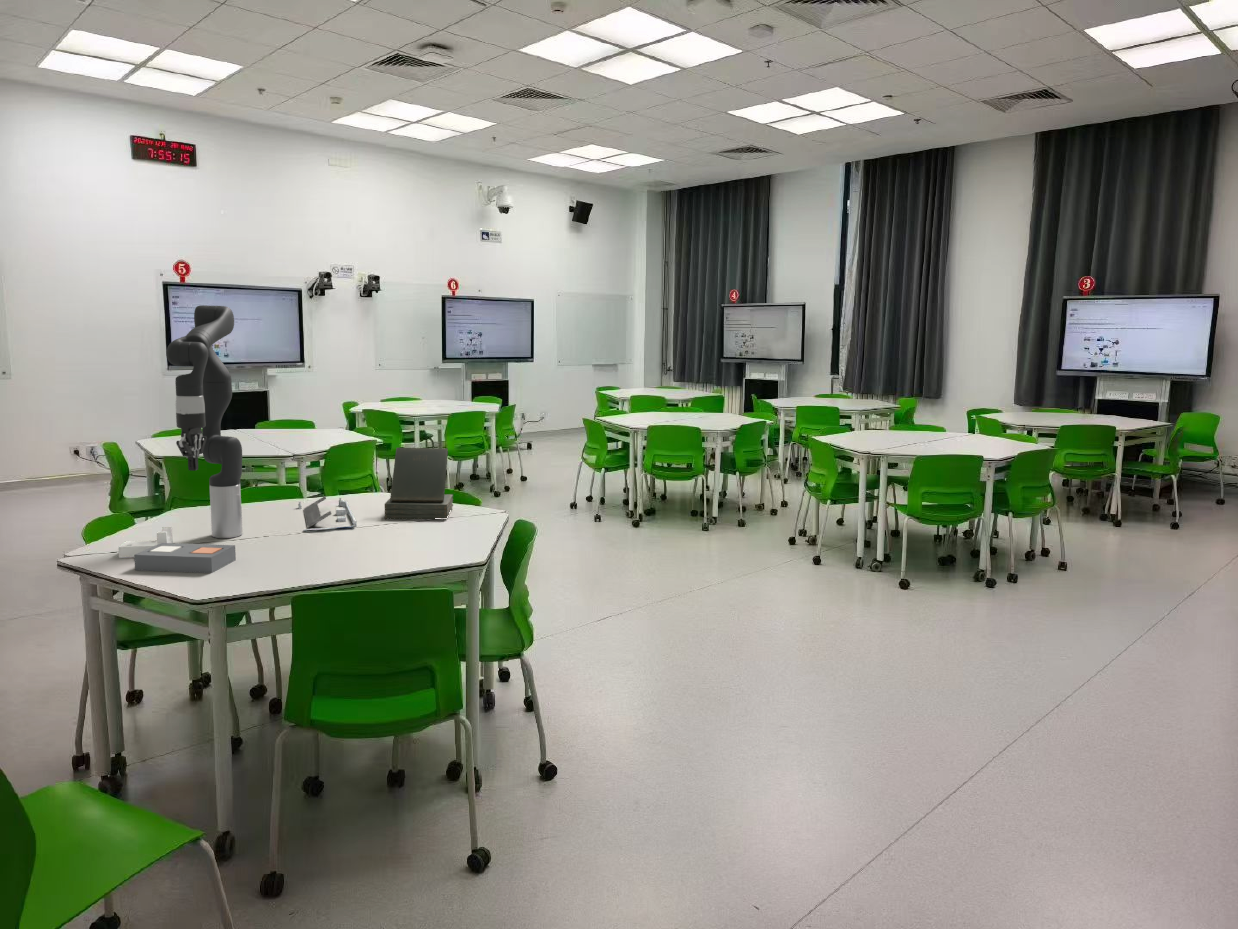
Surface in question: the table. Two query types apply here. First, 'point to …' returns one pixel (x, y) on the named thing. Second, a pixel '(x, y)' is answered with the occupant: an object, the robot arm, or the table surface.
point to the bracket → (144, 543)
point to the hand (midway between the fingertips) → (193, 470)
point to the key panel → (185, 558)
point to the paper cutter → (314, 514)
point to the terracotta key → (206, 550)
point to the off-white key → (166, 549)
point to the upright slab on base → (419, 485)
